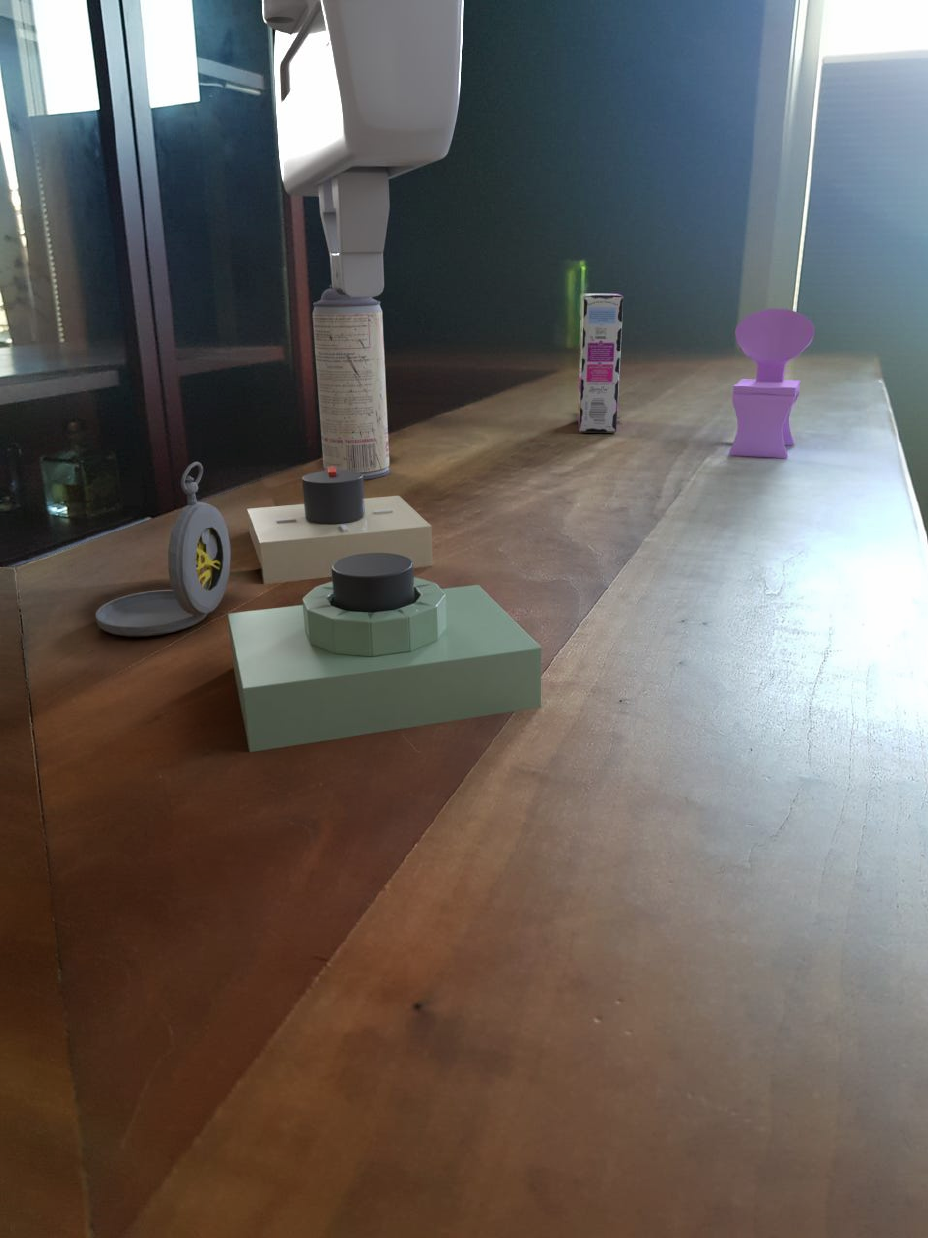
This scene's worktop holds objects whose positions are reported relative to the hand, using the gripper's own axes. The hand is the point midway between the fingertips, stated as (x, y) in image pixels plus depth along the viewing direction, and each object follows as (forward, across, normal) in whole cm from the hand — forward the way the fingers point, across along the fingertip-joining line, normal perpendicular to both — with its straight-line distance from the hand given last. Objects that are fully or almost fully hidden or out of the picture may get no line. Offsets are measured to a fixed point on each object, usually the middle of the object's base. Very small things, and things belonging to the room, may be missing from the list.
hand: (358, 296), depth 42 cm
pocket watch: (+19, -13, -10) cm, 26 cm away
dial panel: (+19, -24, +2) cm, 31 cm away
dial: (+16, -24, +2) cm, 29 cm away
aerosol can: (+19, -53, +9) cm, 57 cm away
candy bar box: (+19, -70, +44) cm, 85 cm away
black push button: (+14, 0, 0) cm, 14 cm away
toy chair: (+19, -48, +54) cm, 75 cm away
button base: (+19, 0, 0) cm, 19 cm away
